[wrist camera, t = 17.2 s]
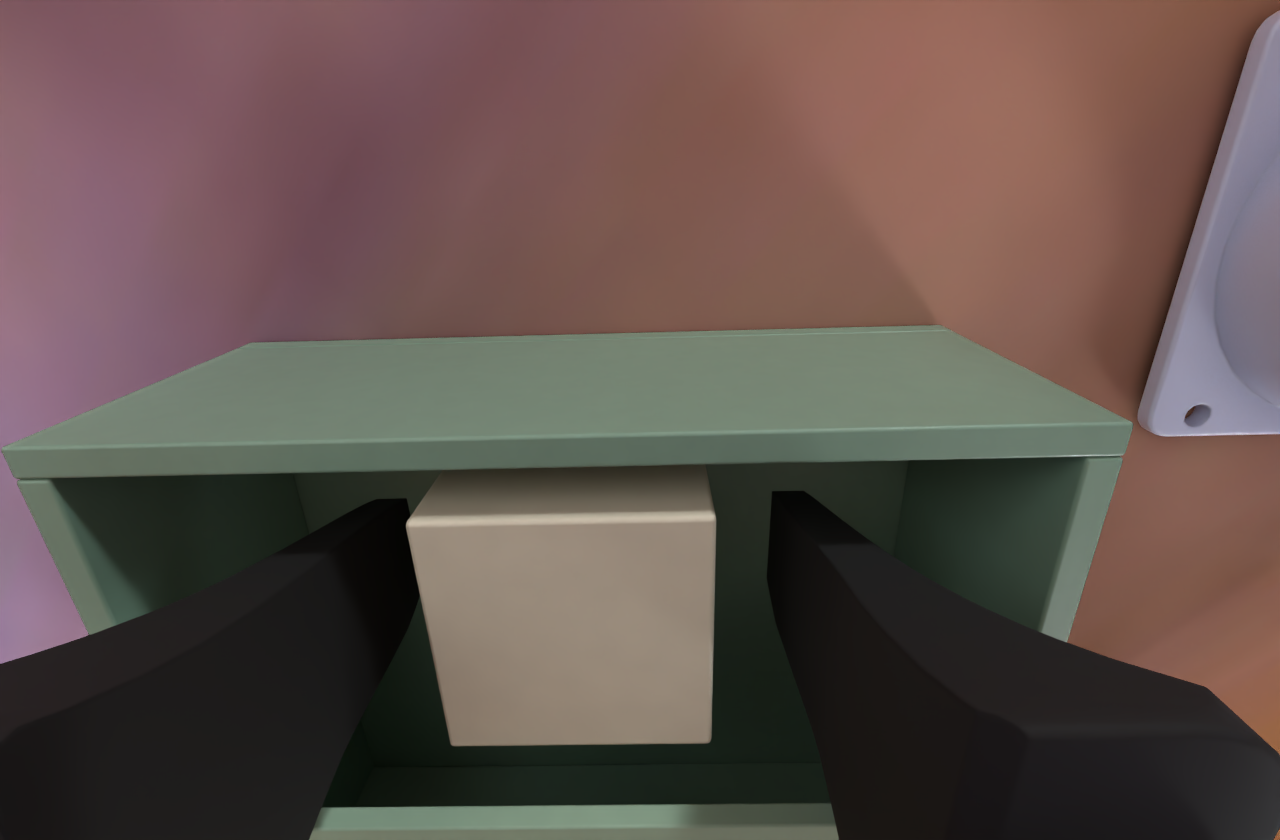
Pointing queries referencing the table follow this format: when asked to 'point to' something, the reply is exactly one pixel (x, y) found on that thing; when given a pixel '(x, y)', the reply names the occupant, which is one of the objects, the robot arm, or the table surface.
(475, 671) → the block
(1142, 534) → the table surface
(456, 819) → the flap
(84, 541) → the box
